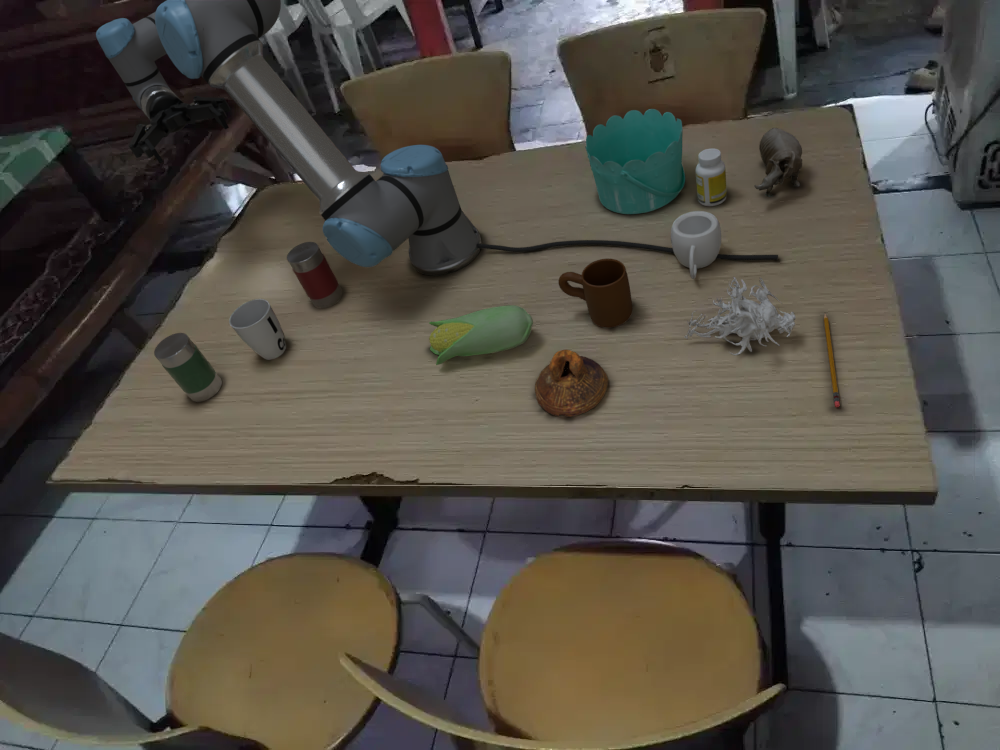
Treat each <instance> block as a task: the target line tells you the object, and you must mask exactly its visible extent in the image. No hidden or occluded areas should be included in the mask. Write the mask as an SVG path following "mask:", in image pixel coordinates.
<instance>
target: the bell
mask: <svg viewBox="0 0 1000 750" xmlns="http://www.w3.org/2000/svg"><path fill="white" fill-rule="evenodd" d="M608 380H609V379H608V375H607V372H606V371H605V369H604V368H603V367H602V366H601V365H600V364H599V363H598V362H597V361H595V360H593V359H592V358H589V357H587V356H583V355H580V354H578V353H577V352H576V351H573V350H571V349H561V350H559V351H556V352H555V353H554V355H553V356H552V358H551V360H550V361H549V363H548V364H547V365H546V366H544V368H543V369H542V370H541V371H540V373H539V375H538V376H537V379H536V381H535V383H534V393H535V397H536V398H535V399H536V401H537V404H538V405H539V406H540V407H541V408H542V409H543V410H544V411H546V412H547V413H548V414H551V415H552V416H555V417H559V416H563V417H567V418H570V417H576V416H580V415H582V414H585V413H587V412H589V411H590V410H592V409H594V408H595V407H596V406H597V405H598V404H599V403H600V402H601V401H602V399H603V398H604V397H605V395H606V391H607V390H608V383H609V382H608Z"/></svg>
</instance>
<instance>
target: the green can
mask: <svg viewBox="0 0 1000 750" xmlns="http://www.w3.org/2000/svg"><path fill="white" fill-rule="evenodd" d="M153 355H154V357H155V358H156V359H157V360H158V362H159V363H160V364H161V366H162V367H163V368H164V370H165V371H166V372H167V374H169V376H170V377H171V378H172V380H173V381H174V382H175V383H176V384H177V386H179V387H180V389H181V390H182V391H183V392H184V393H185V394H186V395H187V396H188V397H189V399H190V400H191V401H192V402H195V403H196V402H197V403H201V402H205V401H207V400H209V399H212V397H214V396H215V395H217V394H218V392H219V391H220V389H221V388H222V385H223V380H222V378H221V377H220V375H219V374H218V373H217V371H216V370H215V369H214V367H213V366H212V364H211V363H210V362H209V360H208V359H207V358H206V356H205V355H204V354H203V353H202V351H201V350H200V349H199V347H198V346H197V345H196V344H195V343H194V342H193V341H192V340H191V338H190V337H189V336H188V335H187V333H184V332H177V333H173V334H170V335H168V336H167V337H165V338H163V339H161V341H160V342H159V343H157V345H156V346H155V348H154V351H153Z"/></svg>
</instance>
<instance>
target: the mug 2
mask: <svg viewBox="0 0 1000 750" xmlns="http://www.w3.org/2000/svg"><path fill="white" fill-rule="evenodd" d="M670 243H671V248H673V251H674V253H673V254H674V256H675V257H676V259H677V260H678V262H679V263H680V264H681V265H682V266H684V267H686V268H688V269H689V274H690V278H691V279H693V280H694V279H696V277H697V271H698V269H702V268H705V267H708V266H710V265H711V264H712V263H714V261H716V260H717V259H716V257H717V255H718V254H720V253H719V252H720V250H721V245H722V229H721V224H720V221H719V219H718V218H717V216H715V215H714V213H711V212H709V211H705V210H692V211H689V212H685V213H683V214H680V215H679V216H678V217H676V219H675V220H674V221H673V223H672V225H671V227H670Z"/></svg>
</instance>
